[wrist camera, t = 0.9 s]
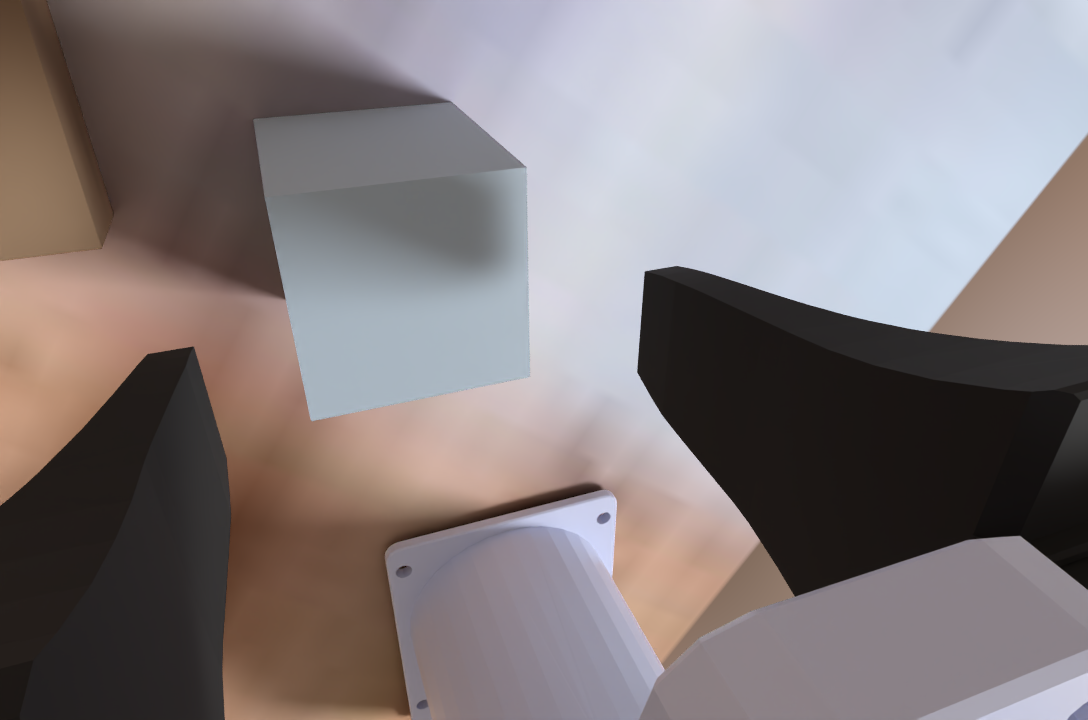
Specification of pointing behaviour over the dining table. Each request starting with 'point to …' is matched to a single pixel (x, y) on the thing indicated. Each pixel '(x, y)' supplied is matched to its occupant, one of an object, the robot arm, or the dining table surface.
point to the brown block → (44, 144)
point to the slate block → (397, 253)
